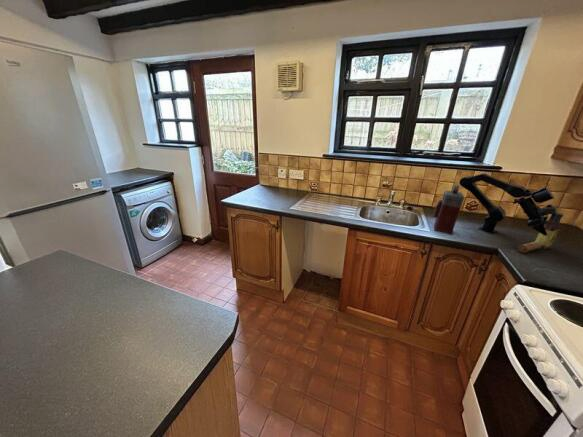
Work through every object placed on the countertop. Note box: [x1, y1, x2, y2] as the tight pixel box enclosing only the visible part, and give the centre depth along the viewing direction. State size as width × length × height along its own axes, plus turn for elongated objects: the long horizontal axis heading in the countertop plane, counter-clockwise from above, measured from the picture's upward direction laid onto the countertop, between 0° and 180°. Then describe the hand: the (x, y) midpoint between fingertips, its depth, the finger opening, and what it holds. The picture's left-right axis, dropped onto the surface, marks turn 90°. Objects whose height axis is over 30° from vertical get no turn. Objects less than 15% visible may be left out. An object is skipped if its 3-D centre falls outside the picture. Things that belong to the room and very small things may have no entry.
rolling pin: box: [517, 241, 542, 254], centre depth 127 cm, size 16×4×4 cm, turn 111°
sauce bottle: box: [534, 211, 564, 250], centre depth 128 cm, size 6×6×20 cm
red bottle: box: [433, 184, 465, 235], centre depth 142 cm, size 9×11×28 cm
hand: (547, 232), depth 129 cm, fingers open, 9 cm apart
